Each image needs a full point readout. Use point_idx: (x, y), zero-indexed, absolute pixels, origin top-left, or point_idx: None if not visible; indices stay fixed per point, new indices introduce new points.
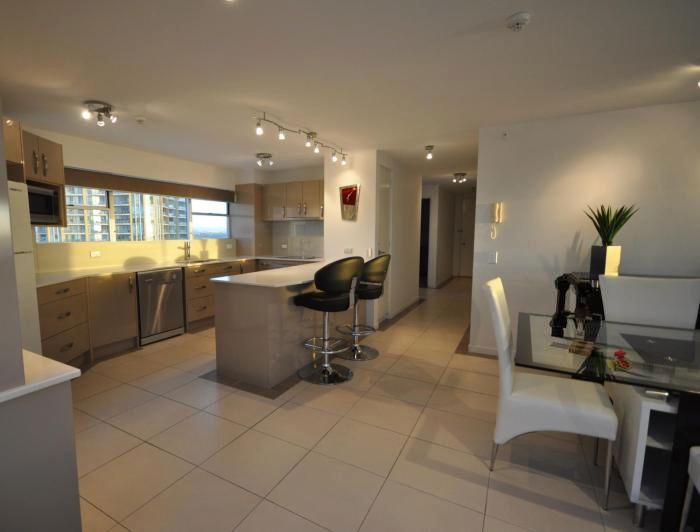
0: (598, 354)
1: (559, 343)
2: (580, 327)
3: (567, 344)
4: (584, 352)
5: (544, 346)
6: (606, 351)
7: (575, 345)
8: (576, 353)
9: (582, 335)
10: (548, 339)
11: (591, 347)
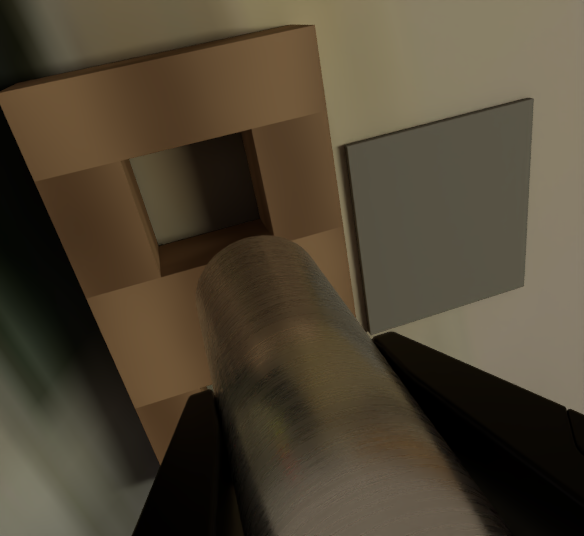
0: (13, 293)
1: (463, 287)
2: (299, 381)
3: (393, 326)
4: (81, 72)
5: (578, 44)
6: (28, 460)
7: (284, 231)
8: (191, 46)
9: (200, 289)
10: (567, 328)
11: (104, 327)
